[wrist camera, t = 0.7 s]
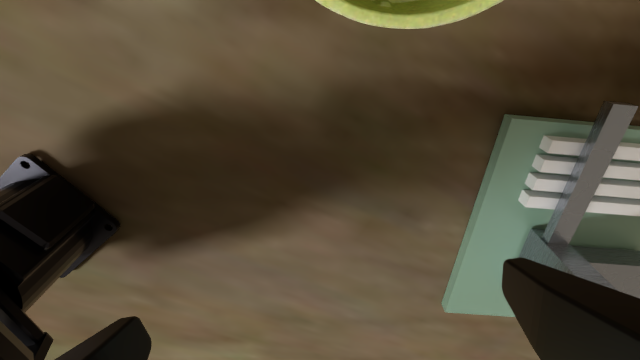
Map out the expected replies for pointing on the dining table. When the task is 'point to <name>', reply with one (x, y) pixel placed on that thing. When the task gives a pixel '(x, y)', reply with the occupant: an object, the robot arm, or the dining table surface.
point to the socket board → (539, 205)
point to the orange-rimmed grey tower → (553, 243)
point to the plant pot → (408, 11)
